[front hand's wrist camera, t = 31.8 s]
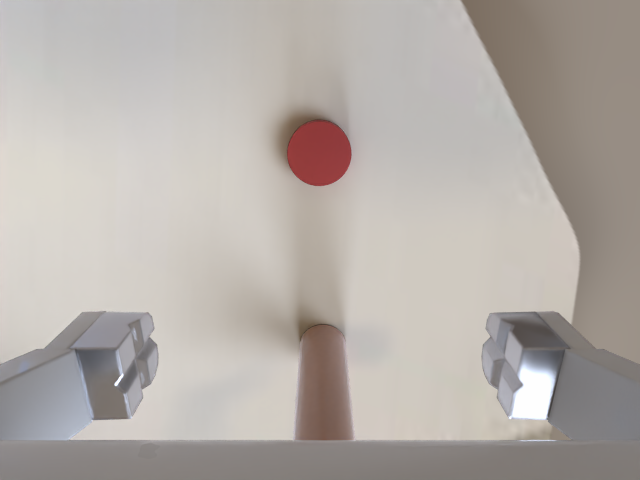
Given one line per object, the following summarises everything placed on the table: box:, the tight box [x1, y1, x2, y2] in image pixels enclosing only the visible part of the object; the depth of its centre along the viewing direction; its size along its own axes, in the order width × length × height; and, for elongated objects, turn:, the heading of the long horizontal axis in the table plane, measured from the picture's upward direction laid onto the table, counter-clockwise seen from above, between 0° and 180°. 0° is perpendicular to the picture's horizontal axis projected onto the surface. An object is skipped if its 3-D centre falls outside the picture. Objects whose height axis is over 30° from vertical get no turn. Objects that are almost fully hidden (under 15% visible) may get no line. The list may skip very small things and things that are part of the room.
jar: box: [293, 325, 355, 440], centre depth 35 cm, size 5×5×16 cm
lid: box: [287, 120, 351, 186], centre depth 35 cm, size 5×5×2 cm
